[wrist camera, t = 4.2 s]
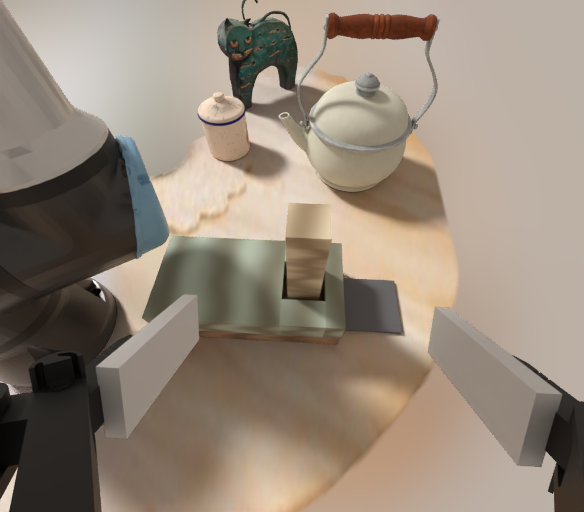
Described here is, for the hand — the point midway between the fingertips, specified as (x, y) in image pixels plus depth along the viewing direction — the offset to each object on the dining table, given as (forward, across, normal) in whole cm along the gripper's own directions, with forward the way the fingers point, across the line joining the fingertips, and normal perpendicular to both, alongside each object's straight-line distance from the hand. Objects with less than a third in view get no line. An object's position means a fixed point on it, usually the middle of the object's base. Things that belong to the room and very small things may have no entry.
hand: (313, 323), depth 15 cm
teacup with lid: (+50, -18, +17) cm, 56 cm away
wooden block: (+22, 0, -6) cm, 23 cm away
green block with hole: (+24, -7, -9) cm, 27 cm away
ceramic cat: (+64, -12, +32) cm, 73 cm away
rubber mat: (+24, +10, -9) cm, 28 cm away
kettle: (+46, +7, +13) cm, 48 cm away
